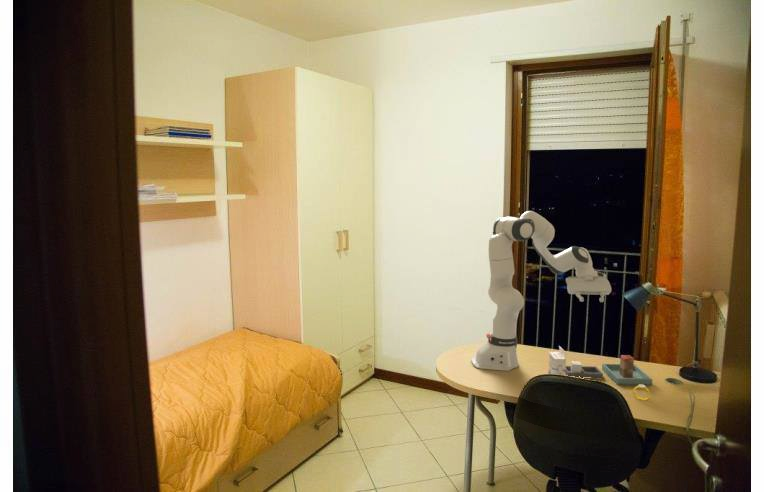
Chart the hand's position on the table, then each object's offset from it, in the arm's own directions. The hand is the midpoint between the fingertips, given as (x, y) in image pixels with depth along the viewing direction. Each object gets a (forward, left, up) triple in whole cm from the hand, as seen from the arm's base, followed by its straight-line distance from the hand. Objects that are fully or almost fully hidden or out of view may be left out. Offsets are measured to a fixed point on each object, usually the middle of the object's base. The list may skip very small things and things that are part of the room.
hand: (592, 301), depth 228 cm
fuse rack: (-9, -17, -30) cm, 36 cm away
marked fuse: (+10, -19, -29) cm, 36 cm away
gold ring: (+7, -40, -31) cm, 51 cm away
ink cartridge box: (-22, -23, -31) cm, 44 cm away
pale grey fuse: (-12, -17, -30) cm, 37 cm away
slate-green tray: (+10, -19, -30) cm, 37 cm away
